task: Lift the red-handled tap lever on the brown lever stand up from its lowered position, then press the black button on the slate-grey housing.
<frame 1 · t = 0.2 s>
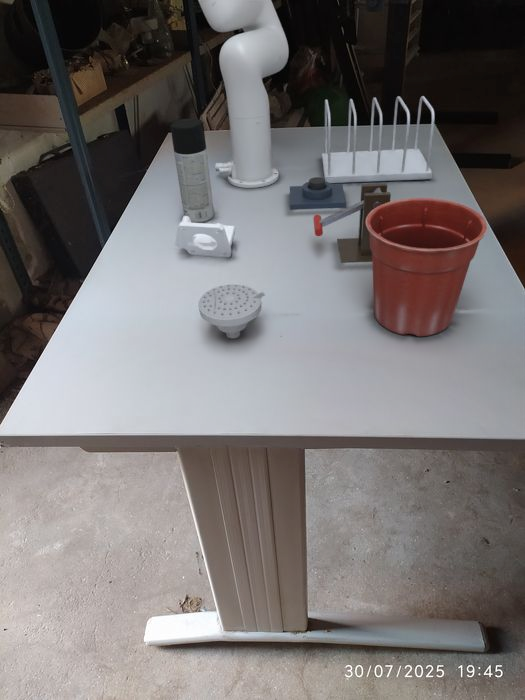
hand: (387, 7, 95), 37 cm above the table, tool pointing down, fingers open, 9 cm apart
button box: (316, 203, 121), on the table
tap lever: (347, 211, 97), point 9 cm above the table, hinge at -25.0°
button: (317, 184, 118), point 4 cm above the table, slide at 0.1 cm
spray can: (199, 218, 119), on the table
brown lever stand: (370, 254, 102), on the table
showerhead: (235, 335, 85), on the table
file sorter: (373, 170, 135), on the table
mounting bracket: (204, 253, 106), on the table
flower pot: (411, 315, 86), on the table
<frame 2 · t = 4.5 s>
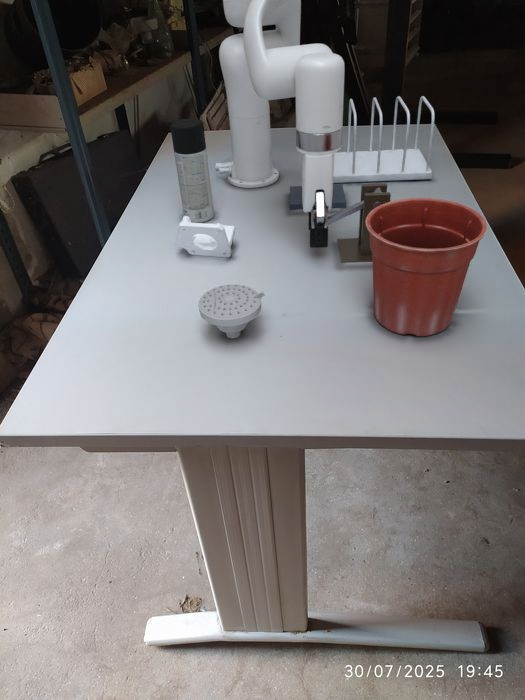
hand: (317, 237, 100), 4 cm above the table, tool pointing down, fingers closed on tap lever, 6 cm apart
tap lever: (347, 211, 97), point 9 cm above the table, hinge at -25.0°, touching gripper
everything else where it was.
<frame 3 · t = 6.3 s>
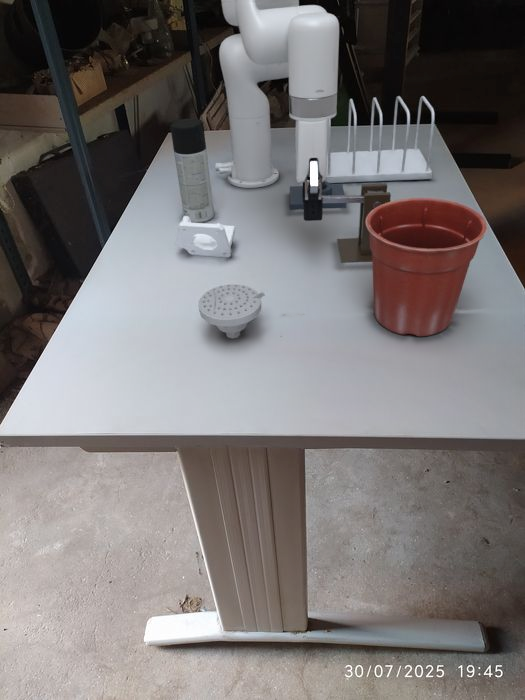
hand: (312, 210, 97), 9 cm above the table, tool pointing down, fingers closed on tap lever, 6 cm apart
tap lever: (345, 199, 95), point 11 cm above the table, hinge at 1.8°, touching gripper
everything else where it was.
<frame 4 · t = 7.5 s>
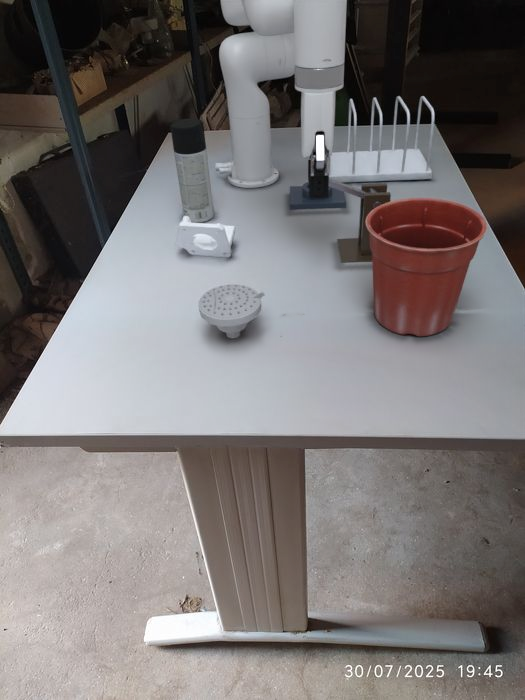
hand: (317, 188, 94), 13 cm above the table, tool pointing down, fingers closed on tap lever, 6 cm apart
tap lever: (348, 189, 94), point 13 cm above the table, hinge at 22.2°, touching gripper
everything else where it was.
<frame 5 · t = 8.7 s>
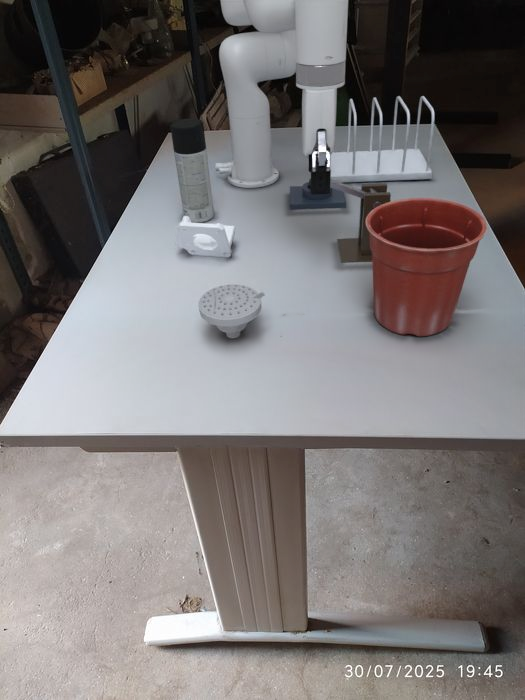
hand: (318, 182, 94), 14 cm above the table, tool pointing down, fingers open, 9 cm apart
tap lever: (348, 189, 94), point 13 cm above the table, hinge at 21.8°
everything else where it was.
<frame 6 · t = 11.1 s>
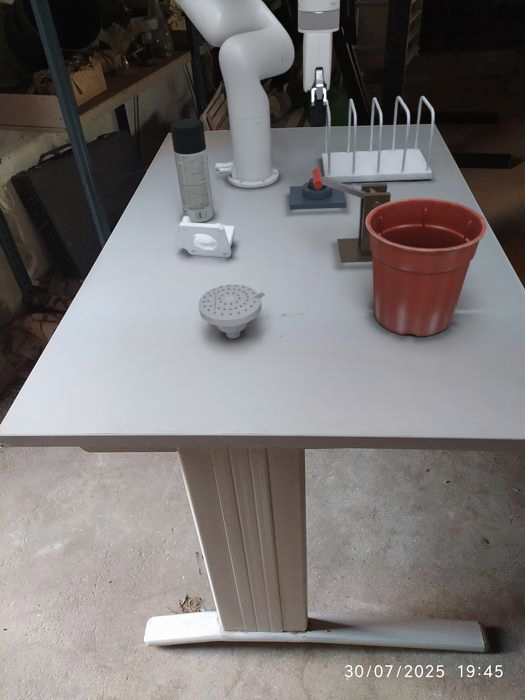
hand: (317, 119, 110), 18 cm above the table, tool pointing down, fingers open, 9 cm apart
nothing on the table moved.
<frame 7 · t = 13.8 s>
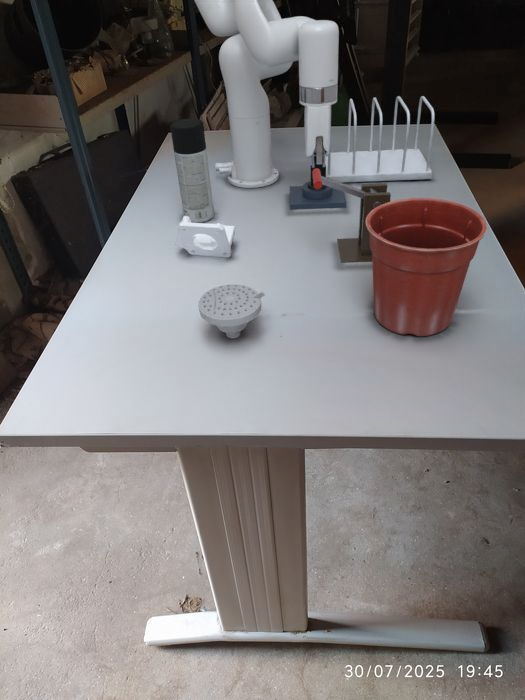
hand: (318, 184, 118), 5 cm above the table, tool pointing down, fingers closed
button: (317, 187, 119), point 4 cm above the table, slide at -0.7 cm, touching gripper
everything else where it was.
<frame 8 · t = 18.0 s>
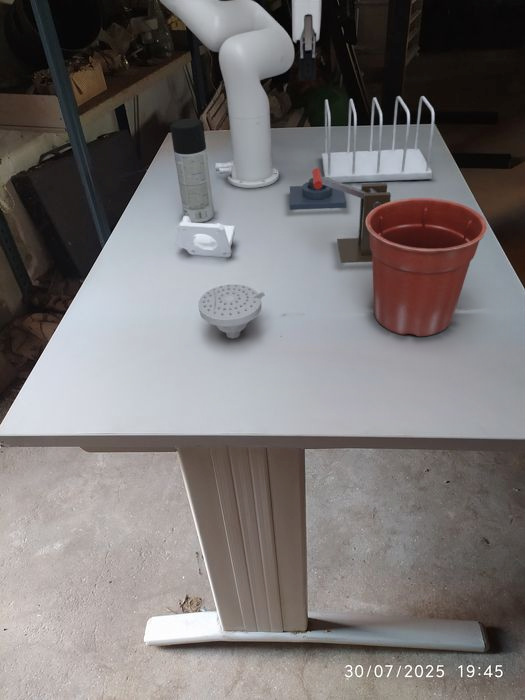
hand: (307, 79, 107), 25 cm above the table, tool pointing down, fingers closed
button: (317, 184, 118), point 4 cm above the table, slide at 0.1 cm
everything else where it was.
at the end: tap lever at +22° (first picture: -25°); button pushed in 1.0 cm at the most during the clip, back to where it started at the end; button slide at 0.1 cm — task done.
